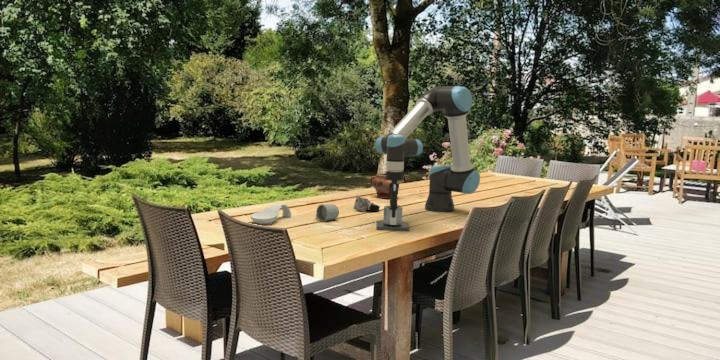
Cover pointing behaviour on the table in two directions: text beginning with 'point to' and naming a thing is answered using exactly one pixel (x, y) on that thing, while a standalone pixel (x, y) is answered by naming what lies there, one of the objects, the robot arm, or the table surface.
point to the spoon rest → (270, 214)
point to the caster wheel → (364, 205)
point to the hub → (387, 215)
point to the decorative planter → (381, 185)
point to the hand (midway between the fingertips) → (392, 222)
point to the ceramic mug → (327, 212)
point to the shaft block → (393, 226)
